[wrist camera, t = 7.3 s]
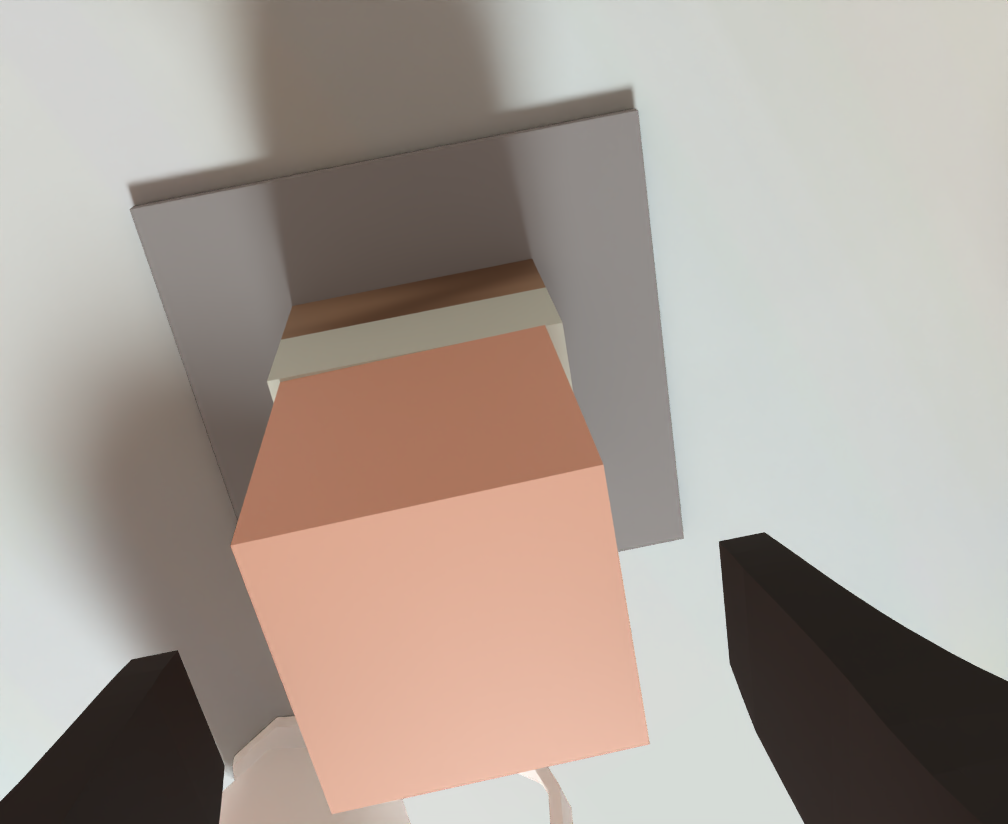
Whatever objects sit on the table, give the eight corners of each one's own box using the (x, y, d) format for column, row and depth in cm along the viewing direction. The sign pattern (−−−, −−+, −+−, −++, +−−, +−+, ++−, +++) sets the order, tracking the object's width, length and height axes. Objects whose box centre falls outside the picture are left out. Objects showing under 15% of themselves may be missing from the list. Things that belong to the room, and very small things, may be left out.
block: (544, 324, 16) (602, 464, 11) (585, 547, 18) (649, 744, 13) (280, 381, 16) (230, 545, 11) (350, 599, 17) (332, 814, 13)
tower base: (532, 258, 19) (545, 287, 17) (566, 468, 21) (582, 514, 20) (292, 306, 19) (280, 339, 17) (351, 512, 21) (346, 561, 19)
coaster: (634, 108, 18) (638, 110, 18) (680, 531, 23) (683, 538, 22) (133, 206, 18) (129, 209, 18) (274, 614, 23) (273, 621, 22)
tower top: (545, 287, 17) (562, 323, 16) (582, 514, 20) (600, 568, 18) (280, 339, 17) (267, 381, 16) (346, 561, 19) (340, 621, 18)
